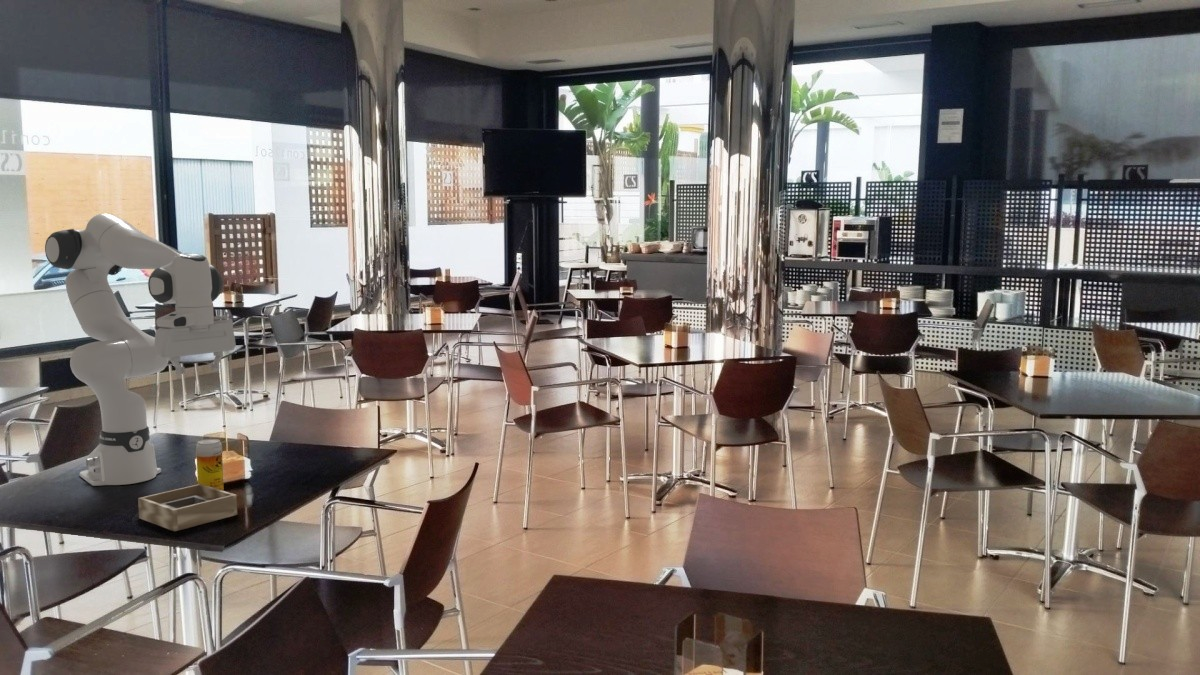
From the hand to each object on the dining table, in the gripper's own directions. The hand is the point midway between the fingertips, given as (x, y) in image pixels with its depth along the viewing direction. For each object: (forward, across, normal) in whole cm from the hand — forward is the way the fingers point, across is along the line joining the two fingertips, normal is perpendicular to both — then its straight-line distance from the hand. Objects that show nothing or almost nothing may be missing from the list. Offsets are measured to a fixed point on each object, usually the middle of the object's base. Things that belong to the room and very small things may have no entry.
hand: (198, 371), depth 241 cm
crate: (+33, +11, +11) cm, 37 cm away
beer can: (+33, -1, +1) cm, 33 cm away
